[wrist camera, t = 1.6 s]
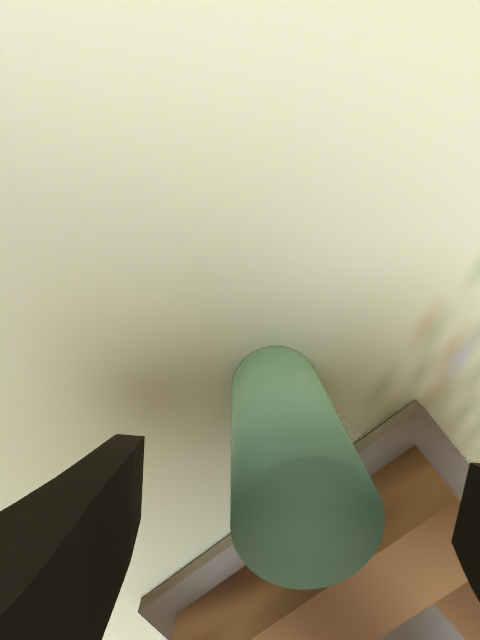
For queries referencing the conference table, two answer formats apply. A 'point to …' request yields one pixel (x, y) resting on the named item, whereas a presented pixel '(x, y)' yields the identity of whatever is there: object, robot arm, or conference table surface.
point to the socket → (364, 586)
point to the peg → (297, 477)
